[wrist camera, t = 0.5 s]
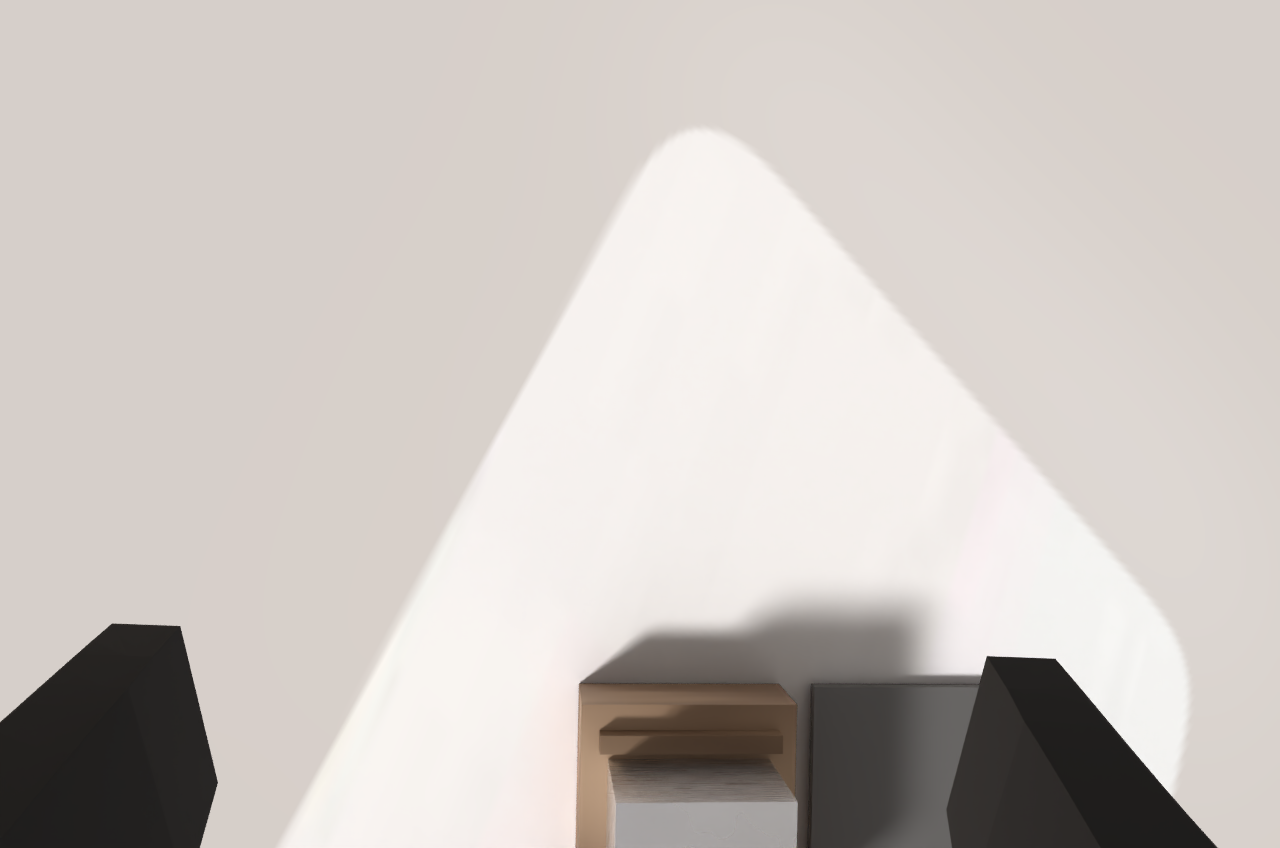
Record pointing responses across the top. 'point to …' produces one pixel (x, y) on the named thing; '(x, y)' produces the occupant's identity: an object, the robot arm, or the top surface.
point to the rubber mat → (885, 763)
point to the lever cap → (698, 804)
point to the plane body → (675, 734)
